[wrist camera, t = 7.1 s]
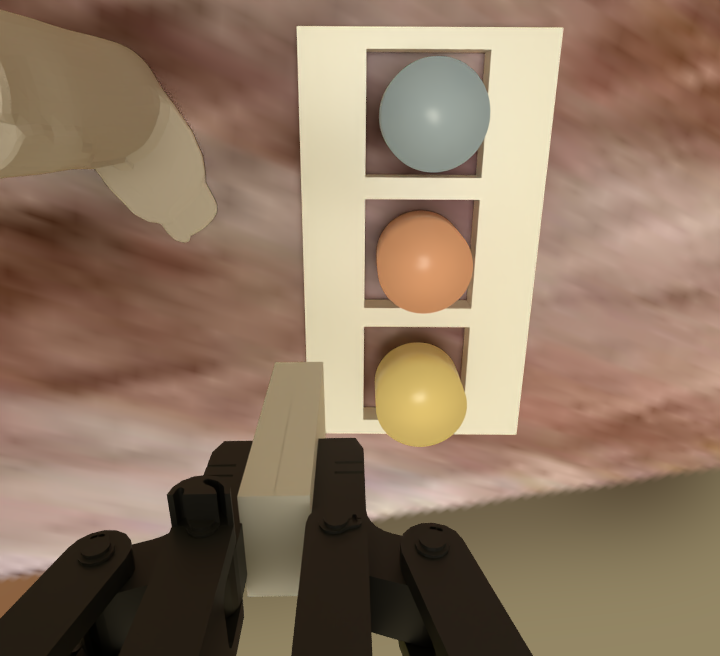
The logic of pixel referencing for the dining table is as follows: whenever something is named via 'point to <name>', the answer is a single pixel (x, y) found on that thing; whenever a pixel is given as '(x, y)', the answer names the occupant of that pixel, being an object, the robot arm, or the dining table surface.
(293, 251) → the dining table surface
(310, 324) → the panel
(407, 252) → the terracotta button
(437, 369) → the ochre button
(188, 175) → the beige tall tapered piece
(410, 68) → the slate-blue button
